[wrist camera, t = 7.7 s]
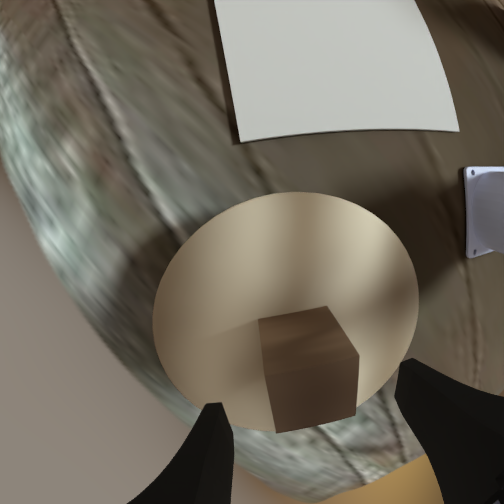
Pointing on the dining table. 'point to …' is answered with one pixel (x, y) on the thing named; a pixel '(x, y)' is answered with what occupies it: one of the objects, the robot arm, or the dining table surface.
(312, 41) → the mat
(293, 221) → the lid
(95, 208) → the dining table surface
